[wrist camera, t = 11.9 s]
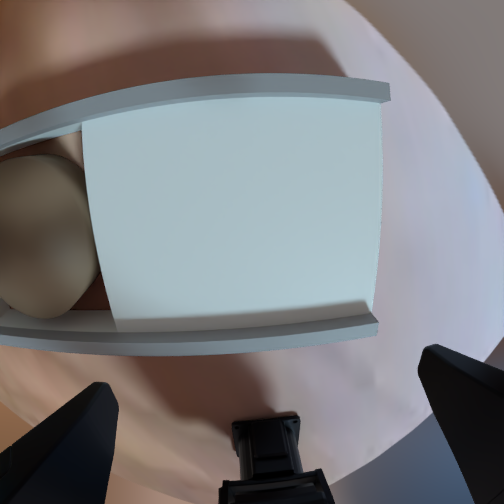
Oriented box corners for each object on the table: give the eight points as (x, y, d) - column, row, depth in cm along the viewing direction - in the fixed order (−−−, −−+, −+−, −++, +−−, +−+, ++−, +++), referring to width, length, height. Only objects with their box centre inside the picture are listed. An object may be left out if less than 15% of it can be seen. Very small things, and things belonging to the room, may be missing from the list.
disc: (117, 300, 20) (101, 326, 17) (12, 291, 19) (-9, 310, 16) (104, 145, 16) (80, 146, 13) (-7, 163, 15) (-36, 169, 12)
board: (353, 304, 21) (384, 346, 16) (4, 317, 20) (-27, 348, 15) (358, 94, 16) (400, 79, 11) (-31, 158, 15) (-74, 166, 10)
